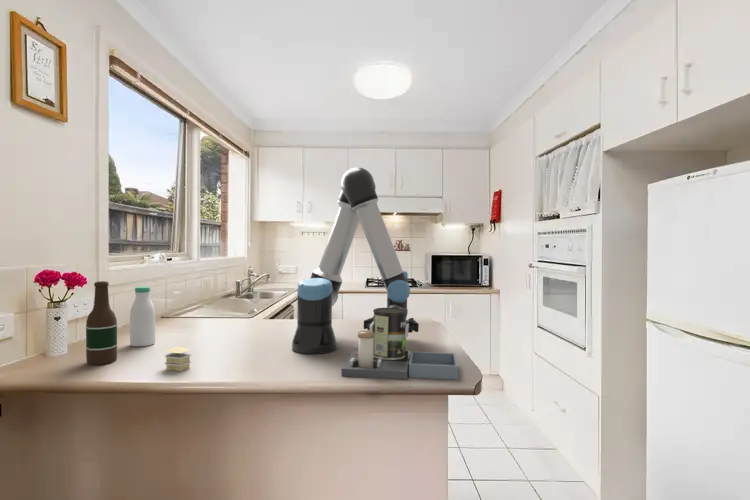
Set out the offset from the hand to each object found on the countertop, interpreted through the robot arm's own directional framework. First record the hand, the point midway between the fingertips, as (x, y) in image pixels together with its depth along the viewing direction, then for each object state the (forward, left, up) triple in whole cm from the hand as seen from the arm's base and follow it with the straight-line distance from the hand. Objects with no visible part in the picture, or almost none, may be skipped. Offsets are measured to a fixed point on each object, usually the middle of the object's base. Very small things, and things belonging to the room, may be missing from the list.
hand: (388, 331), depth 126 cm
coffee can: (0, +4, -9) cm, 10 cm away
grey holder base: (-3, 0, -10) cm, 11 cm away
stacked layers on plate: (-60, -12, -11) cm, 62 cm away
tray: (+13, -3, -10) cm, 17 cm away
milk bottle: (-87, +11, -11) cm, 88 cm away
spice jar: (-6, -6, -10) cm, 13 cm away
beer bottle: (-85, -10, -11) cm, 86 cm away
